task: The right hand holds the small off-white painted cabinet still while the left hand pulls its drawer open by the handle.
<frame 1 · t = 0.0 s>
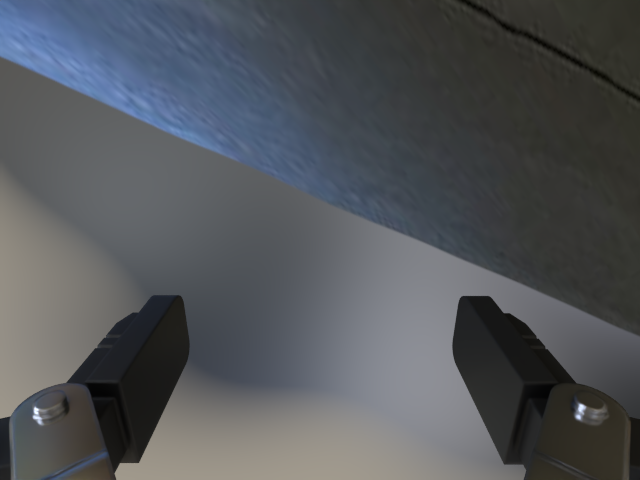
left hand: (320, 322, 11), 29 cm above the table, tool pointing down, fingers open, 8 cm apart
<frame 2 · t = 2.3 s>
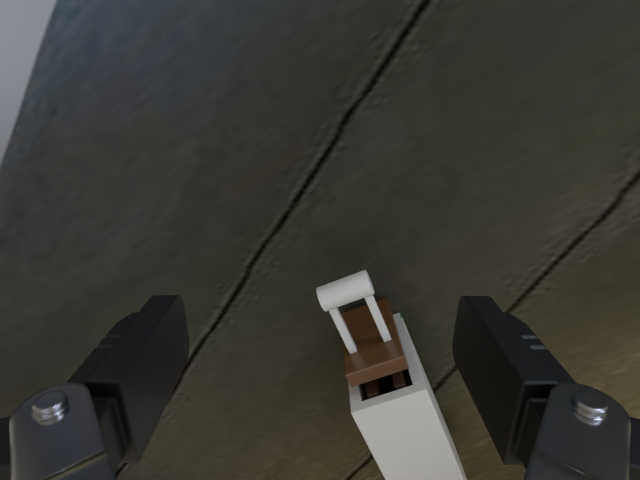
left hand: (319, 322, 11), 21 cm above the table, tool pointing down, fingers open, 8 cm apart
drawer: (388, 378, 32), point 5 cm above the table, slide at 1.3 cm
cabinet: (401, 388, 39), on the table
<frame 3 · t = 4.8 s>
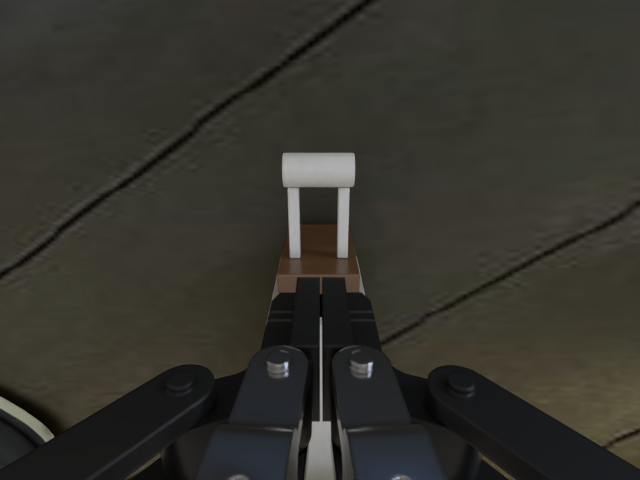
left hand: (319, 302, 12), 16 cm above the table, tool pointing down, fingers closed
drawer: (318, 314, 26), point 5 cm above the table, slide at 1.3 cm
cabinet: (319, 344, 33), on the table, touching right hand
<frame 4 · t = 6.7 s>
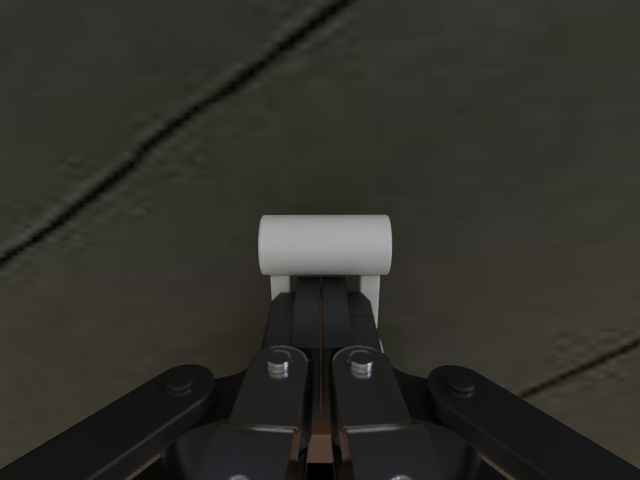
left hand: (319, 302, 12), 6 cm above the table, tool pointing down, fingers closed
drawer: (325, 445, 17), point 5 cm above the table, slide at 1.2 cm, touching left hand
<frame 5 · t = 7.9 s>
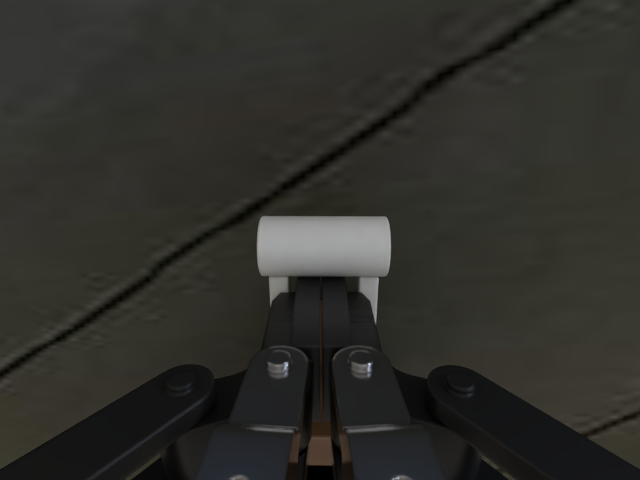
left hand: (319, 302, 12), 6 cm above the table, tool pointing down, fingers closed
drawer: (323, 447, 17), point 5 cm above the table, slide at 6.6 cm, touching left hand
when the right hand's fingers open (6 cm above the table, at t = 9.7 s): cabinet stays where it is, on the table.
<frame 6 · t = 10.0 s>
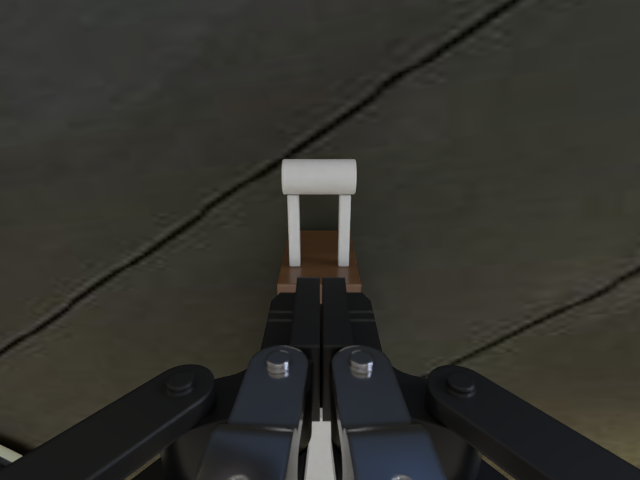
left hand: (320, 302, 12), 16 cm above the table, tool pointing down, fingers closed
drawer: (319, 323, 25), point 5 cm above the table, slide at 6.8 cm
cabinet: (319, 403, 34), on the table
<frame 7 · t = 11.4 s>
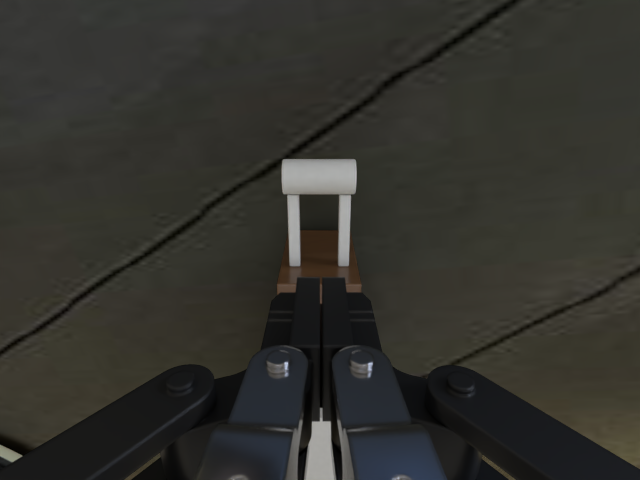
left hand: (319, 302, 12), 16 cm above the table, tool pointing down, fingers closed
drawer: (319, 322, 25), point 5 cm above the table, slide at 6.8 cm
cabinet: (319, 403, 34), on the table
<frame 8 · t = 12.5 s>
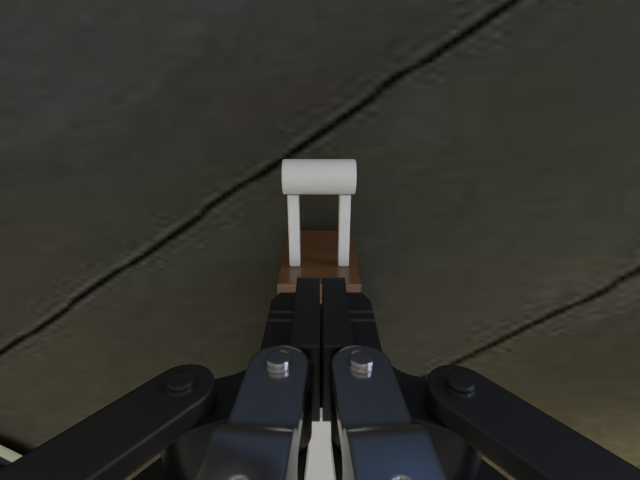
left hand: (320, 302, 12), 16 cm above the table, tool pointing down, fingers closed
drawer: (319, 322, 25), point 5 cm above the table, slide at 6.8 cm
cabinet: (319, 403, 34), on the table
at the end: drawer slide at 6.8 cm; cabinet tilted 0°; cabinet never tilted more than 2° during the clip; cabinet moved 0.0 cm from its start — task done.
